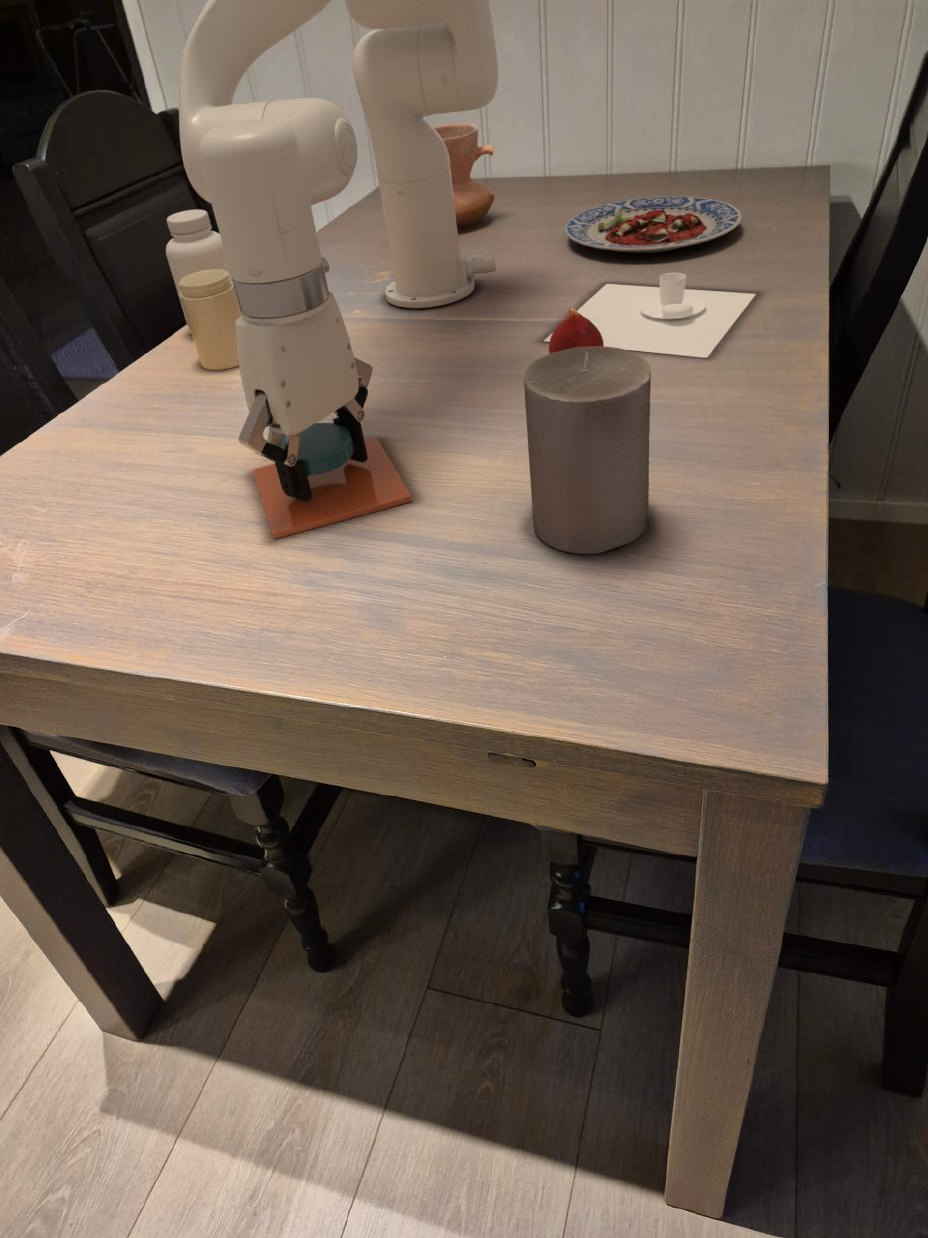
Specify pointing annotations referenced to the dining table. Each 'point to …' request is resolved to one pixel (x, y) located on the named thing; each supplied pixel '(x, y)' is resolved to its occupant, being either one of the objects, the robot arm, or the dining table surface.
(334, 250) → the dining table surface
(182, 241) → the pill bottle
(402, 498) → the tile
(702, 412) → the dining table surface
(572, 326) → the onion
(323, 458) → the lid
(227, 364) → the jar
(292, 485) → the robot arm
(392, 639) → the dining table surface
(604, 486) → the pillar candle
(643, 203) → the ceramic plate
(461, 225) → the ceramic jug
